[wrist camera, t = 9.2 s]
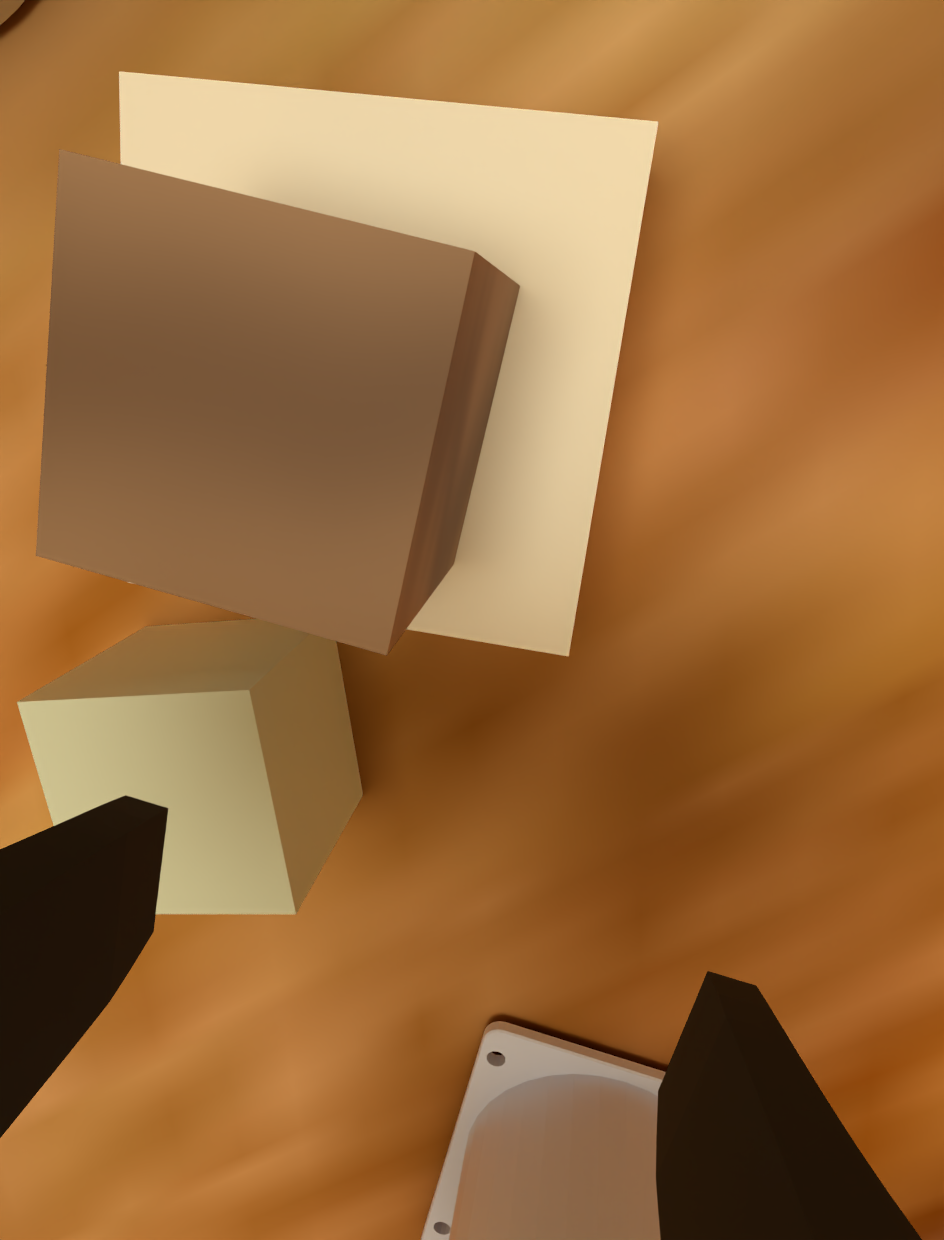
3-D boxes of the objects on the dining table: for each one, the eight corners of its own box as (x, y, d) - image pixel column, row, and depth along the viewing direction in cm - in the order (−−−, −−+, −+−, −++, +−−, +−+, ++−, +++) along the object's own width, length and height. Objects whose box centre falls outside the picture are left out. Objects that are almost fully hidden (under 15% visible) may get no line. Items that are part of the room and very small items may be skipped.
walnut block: (453, 564, 16) (386, 655, 11) (205, 495, 16) (35, 555, 11) (520, 285, 14) (474, 251, 9) (240, 216, 14) (59, 148, 10)
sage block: (363, 793, 22) (295, 914, 17) (189, 798, 23) (79, 913, 18) (332, 612, 20) (249, 689, 16) (148, 625, 21) (16, 701, 17)
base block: (576, 598, 20) (568, 656, 16) (216, 540, 21) (128, 583, 17) (647, 173, 17) (658, 121, 13) (223, 131, 18) (119, 71, 14)
